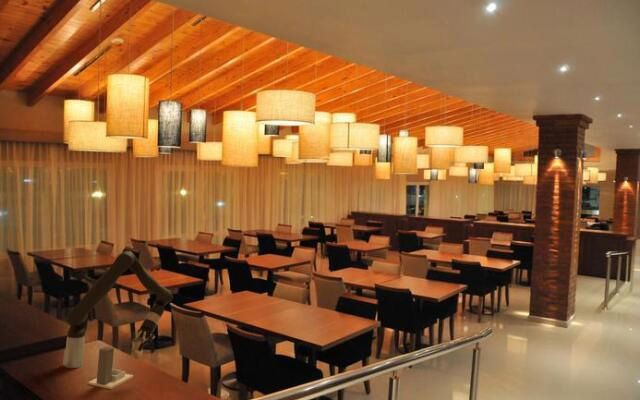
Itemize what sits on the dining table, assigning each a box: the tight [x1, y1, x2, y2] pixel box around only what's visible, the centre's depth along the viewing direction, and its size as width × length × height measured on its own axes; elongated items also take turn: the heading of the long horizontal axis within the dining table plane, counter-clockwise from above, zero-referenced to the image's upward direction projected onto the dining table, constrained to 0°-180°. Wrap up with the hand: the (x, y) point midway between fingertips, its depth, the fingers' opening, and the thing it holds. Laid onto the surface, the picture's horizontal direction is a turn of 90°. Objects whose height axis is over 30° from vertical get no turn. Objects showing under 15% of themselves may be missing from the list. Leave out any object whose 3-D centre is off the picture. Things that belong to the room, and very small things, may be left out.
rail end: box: [130, 337, 144, 359], centre depth 263 cm, size 4×4×10 cm
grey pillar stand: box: [88, 346, 134, 390], centre depth 261 cm, size 14×18×19 cm
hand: (135, 349), depth 261 cm, fingers closed on rail end, 4 cm apart
